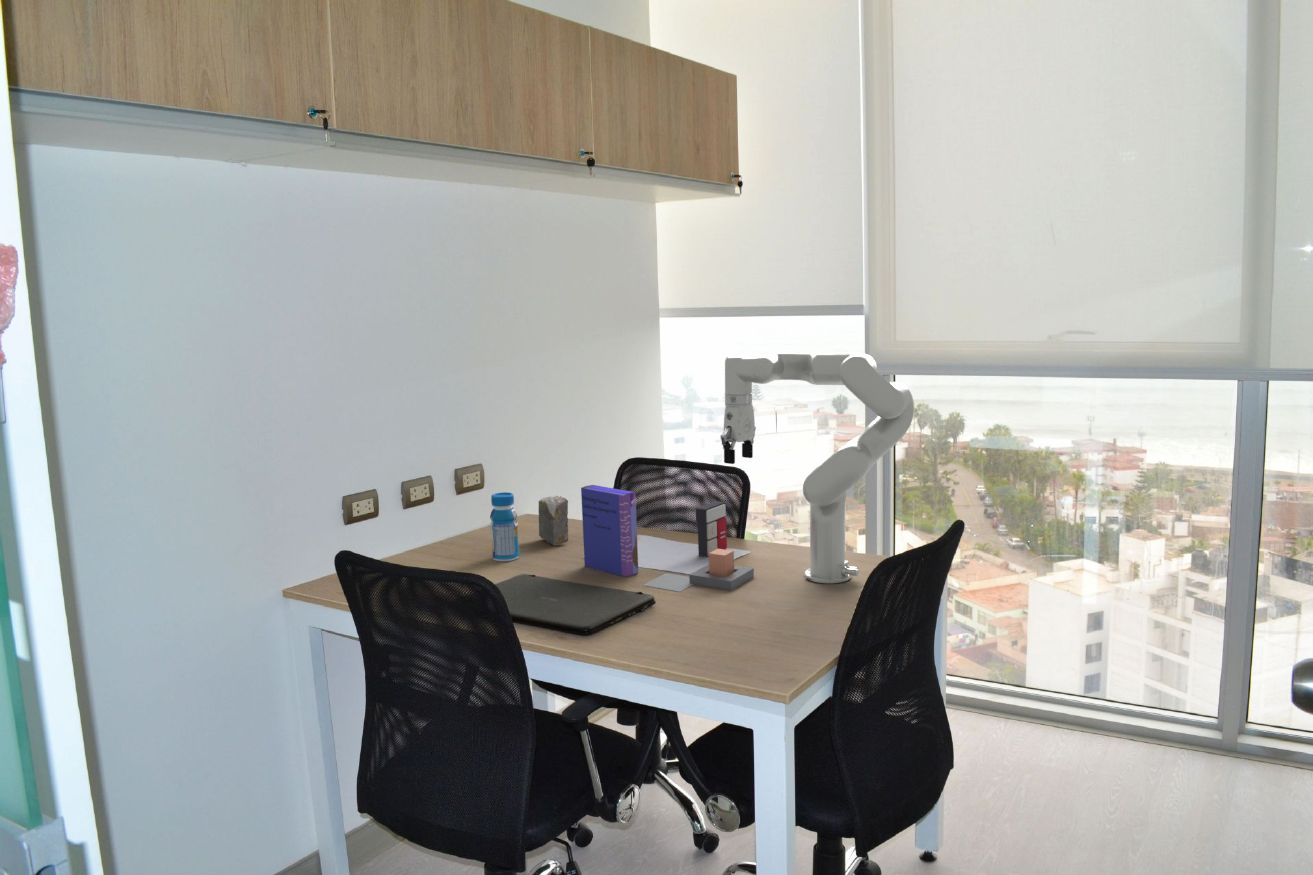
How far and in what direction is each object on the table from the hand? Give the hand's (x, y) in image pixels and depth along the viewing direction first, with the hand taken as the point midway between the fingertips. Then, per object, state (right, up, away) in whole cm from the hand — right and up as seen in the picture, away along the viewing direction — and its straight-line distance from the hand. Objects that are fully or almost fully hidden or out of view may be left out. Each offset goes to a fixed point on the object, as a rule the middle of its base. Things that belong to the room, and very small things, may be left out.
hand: (738, 460), depth 274 cm
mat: (-19, -34, -5) cm, 39 cm away
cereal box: (-36, -32, +10) cm, 49 cm away
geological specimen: (-56, -28, +41) cm, 75 cm away
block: (-5, -33, -5) cm, 34 cm away
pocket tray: (-5, -33, -5) cm, 34 cm away
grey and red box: (-6, -29, +23) cm, 37 cm away
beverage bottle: (-69, -31, +25) cm, 80 cm away
